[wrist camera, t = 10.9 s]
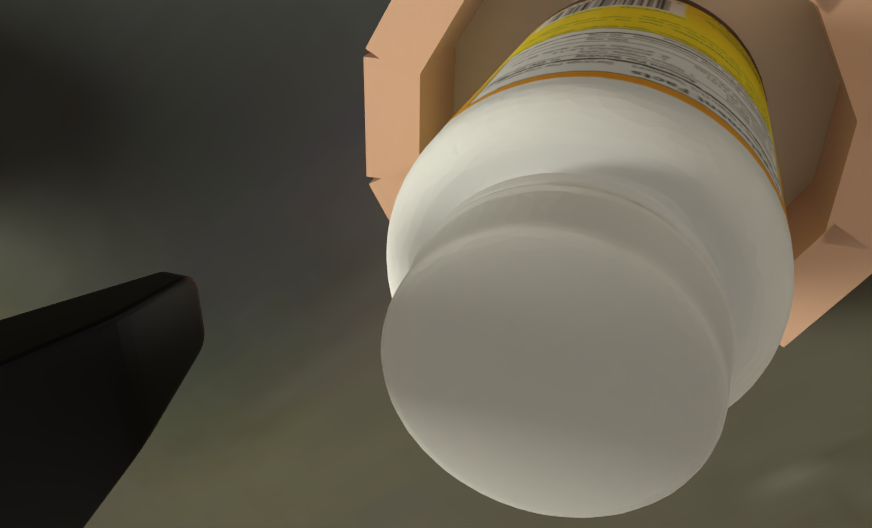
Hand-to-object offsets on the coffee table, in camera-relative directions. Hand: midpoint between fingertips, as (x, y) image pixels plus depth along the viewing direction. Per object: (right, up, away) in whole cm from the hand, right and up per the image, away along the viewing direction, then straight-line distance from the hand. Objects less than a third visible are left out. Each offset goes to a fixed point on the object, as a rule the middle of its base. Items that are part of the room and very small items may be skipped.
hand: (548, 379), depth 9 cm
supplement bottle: (+3, +5, +9) cm, 10 cm away
